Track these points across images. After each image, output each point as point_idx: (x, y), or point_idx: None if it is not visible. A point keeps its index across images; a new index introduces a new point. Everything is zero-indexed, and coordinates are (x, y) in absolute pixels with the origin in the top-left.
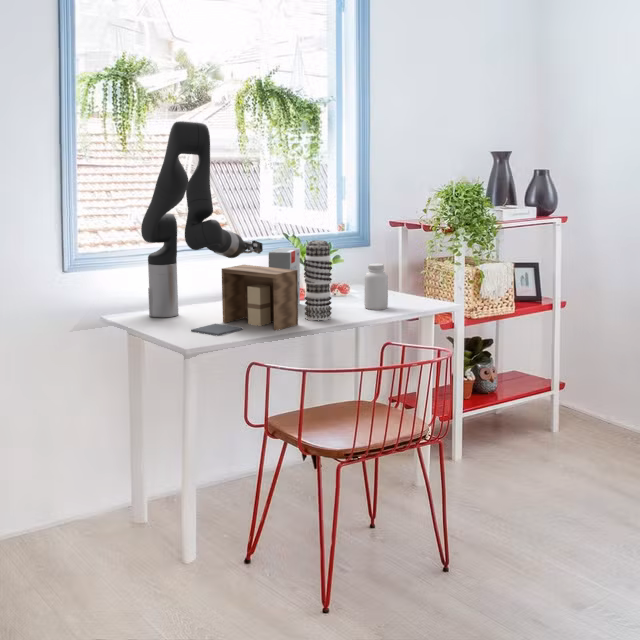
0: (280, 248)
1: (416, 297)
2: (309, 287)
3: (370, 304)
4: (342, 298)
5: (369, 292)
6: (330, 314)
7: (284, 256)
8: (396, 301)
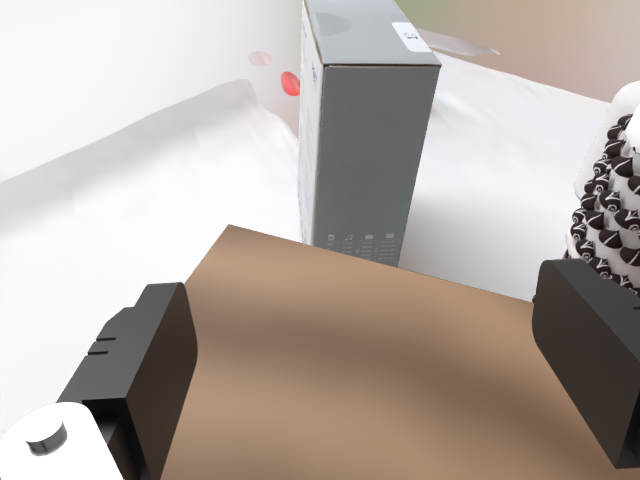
0: (322, 4)
1: (597, 101)
2: None
3: None
4: (440, 125)
5: None
6: None
7: (409, 83)
8: (590, 134)
